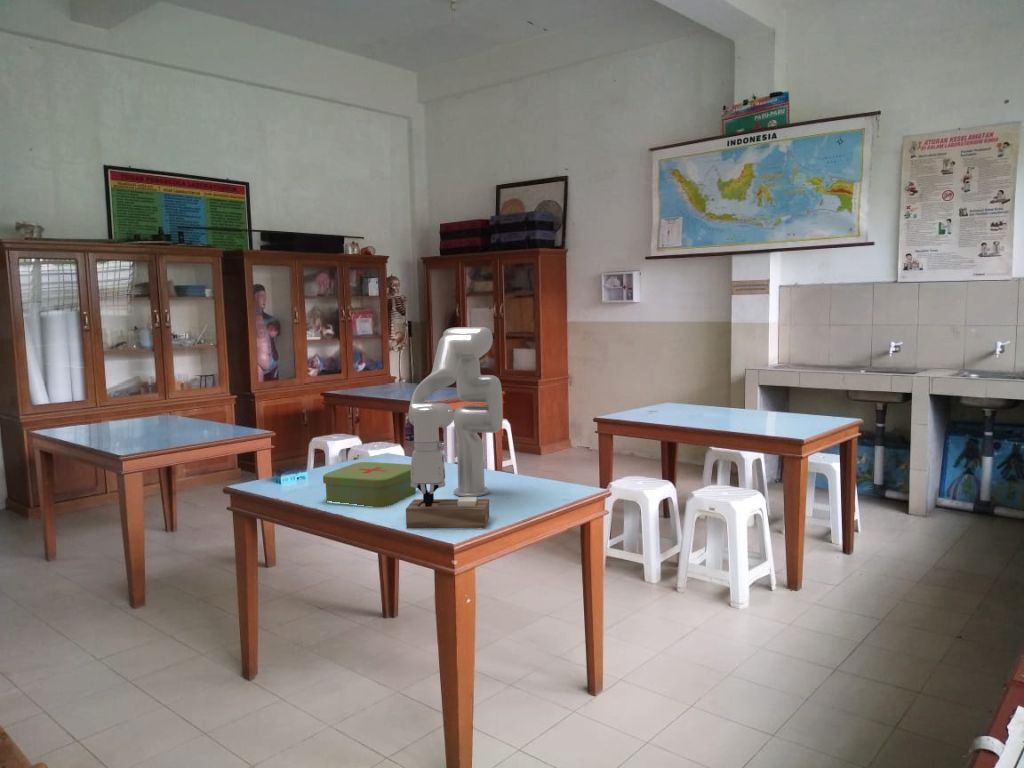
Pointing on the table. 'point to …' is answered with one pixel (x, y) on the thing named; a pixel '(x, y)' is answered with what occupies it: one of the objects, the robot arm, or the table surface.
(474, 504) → the key ivory
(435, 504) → the key red
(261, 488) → the table surface
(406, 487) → the first aid kit
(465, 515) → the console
